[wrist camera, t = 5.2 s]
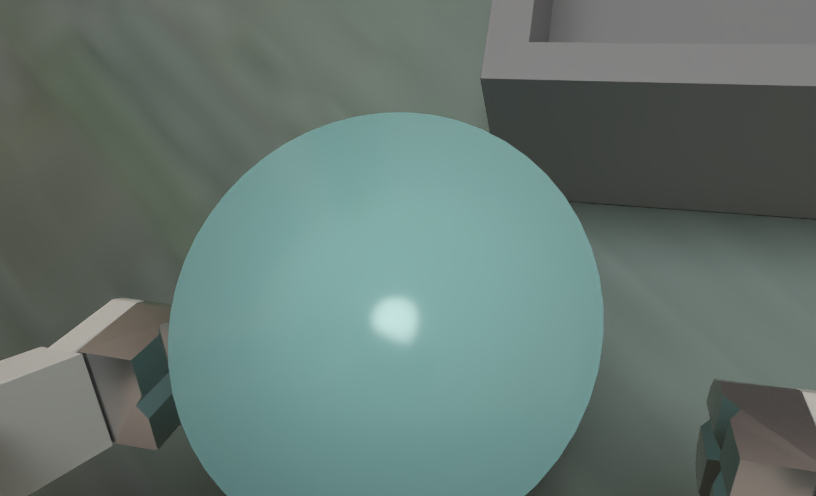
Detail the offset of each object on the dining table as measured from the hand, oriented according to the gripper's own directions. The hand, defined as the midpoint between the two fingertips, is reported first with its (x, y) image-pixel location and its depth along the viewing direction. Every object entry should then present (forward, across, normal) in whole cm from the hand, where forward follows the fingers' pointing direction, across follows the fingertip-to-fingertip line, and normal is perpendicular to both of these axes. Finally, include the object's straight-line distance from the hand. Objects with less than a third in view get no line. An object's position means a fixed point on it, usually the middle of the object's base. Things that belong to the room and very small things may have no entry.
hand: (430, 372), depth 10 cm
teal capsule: (+4, 0, +4) cm, 6 cm away
